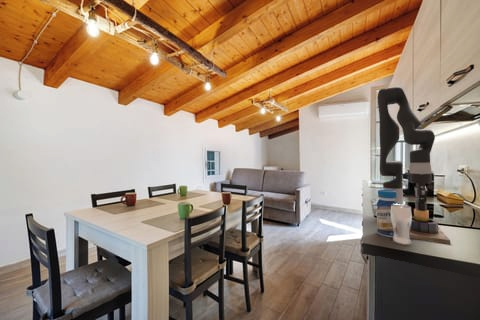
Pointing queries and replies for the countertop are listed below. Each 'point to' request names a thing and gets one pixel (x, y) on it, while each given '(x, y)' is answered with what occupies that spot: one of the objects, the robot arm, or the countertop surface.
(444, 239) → the wooden cutting board
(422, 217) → the orange rounded block
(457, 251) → the countertop surface
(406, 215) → the beer glass
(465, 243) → the countertop surface
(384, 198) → the blue and white bottle
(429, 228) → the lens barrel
